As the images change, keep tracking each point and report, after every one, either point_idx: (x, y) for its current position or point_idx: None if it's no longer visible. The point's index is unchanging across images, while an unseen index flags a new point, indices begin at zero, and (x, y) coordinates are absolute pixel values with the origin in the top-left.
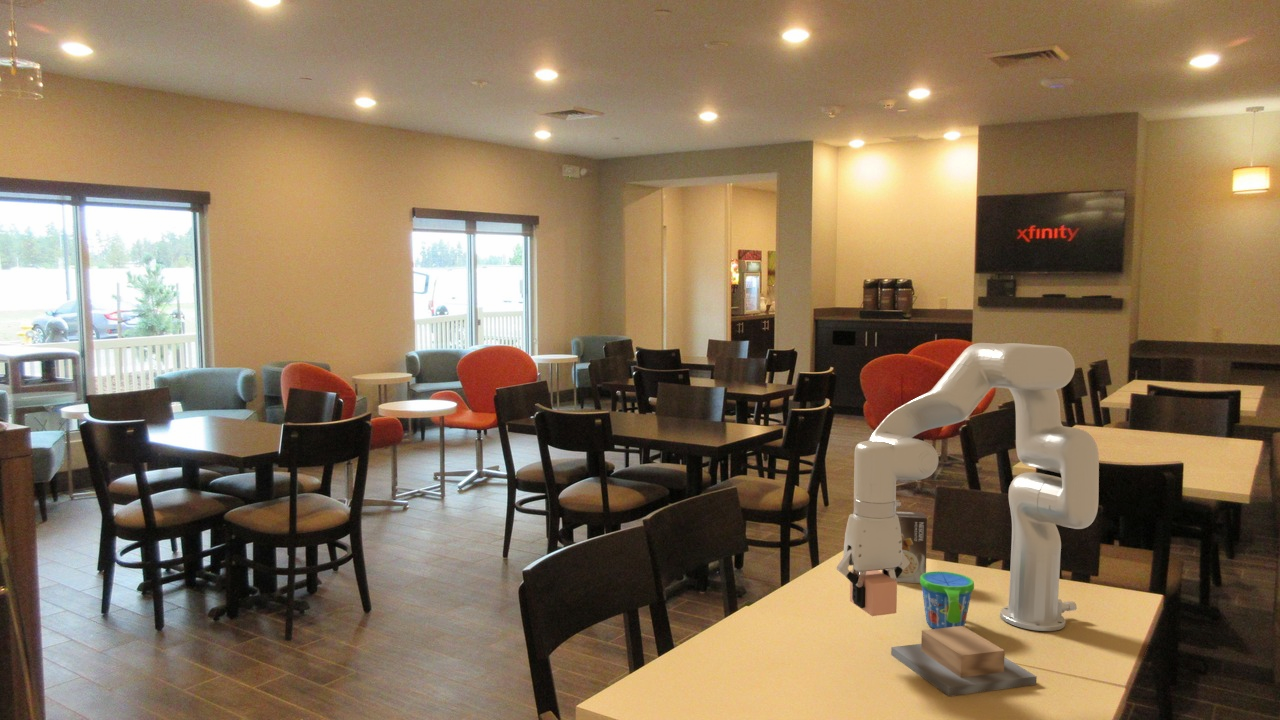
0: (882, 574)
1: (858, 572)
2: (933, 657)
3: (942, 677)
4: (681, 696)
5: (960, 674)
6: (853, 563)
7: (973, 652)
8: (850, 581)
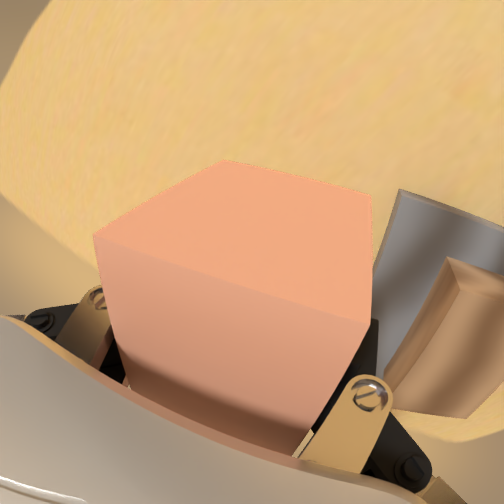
0: (286, 430)
1: (99, 359)
2: (425, 303)
3: None
4: (10, 175)
5: (384, 373)
6: (39, 344)
7: (416, 407)
8: (97, 291)
